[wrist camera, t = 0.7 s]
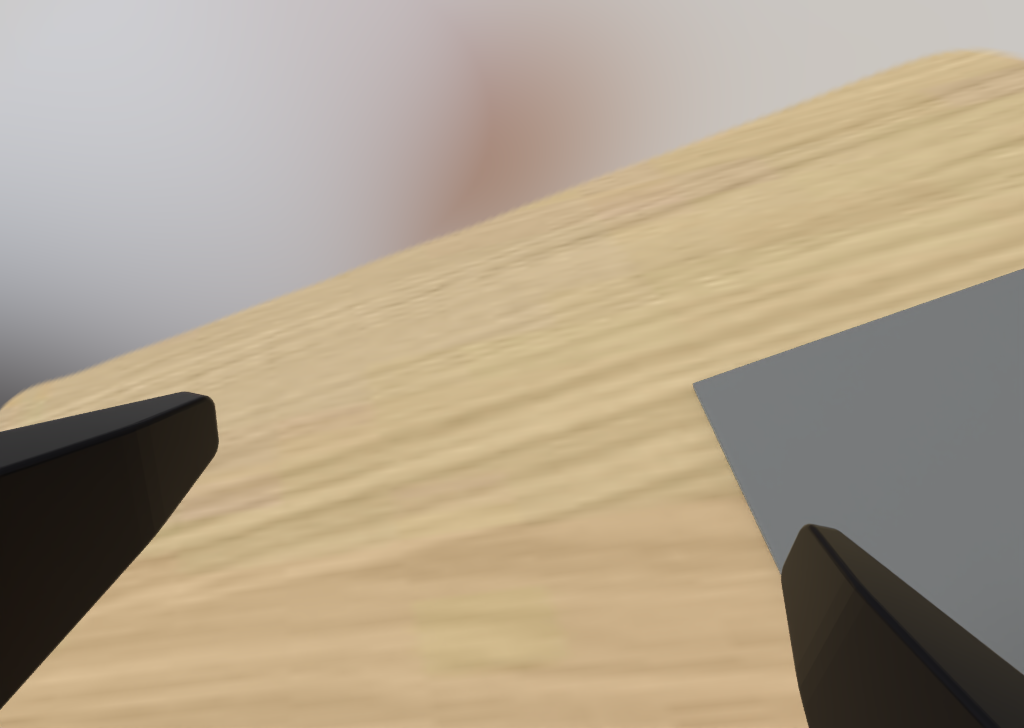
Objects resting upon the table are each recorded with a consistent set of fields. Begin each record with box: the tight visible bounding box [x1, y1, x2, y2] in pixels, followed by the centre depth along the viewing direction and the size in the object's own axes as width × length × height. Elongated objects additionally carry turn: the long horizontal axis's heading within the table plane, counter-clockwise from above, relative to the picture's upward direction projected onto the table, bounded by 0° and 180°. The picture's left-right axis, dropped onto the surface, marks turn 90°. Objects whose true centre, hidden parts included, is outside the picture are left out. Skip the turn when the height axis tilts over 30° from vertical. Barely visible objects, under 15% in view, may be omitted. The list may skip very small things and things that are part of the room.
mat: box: [693, 269, 1024, 675], centre depth 16 cm, size 12×12×1 cm
